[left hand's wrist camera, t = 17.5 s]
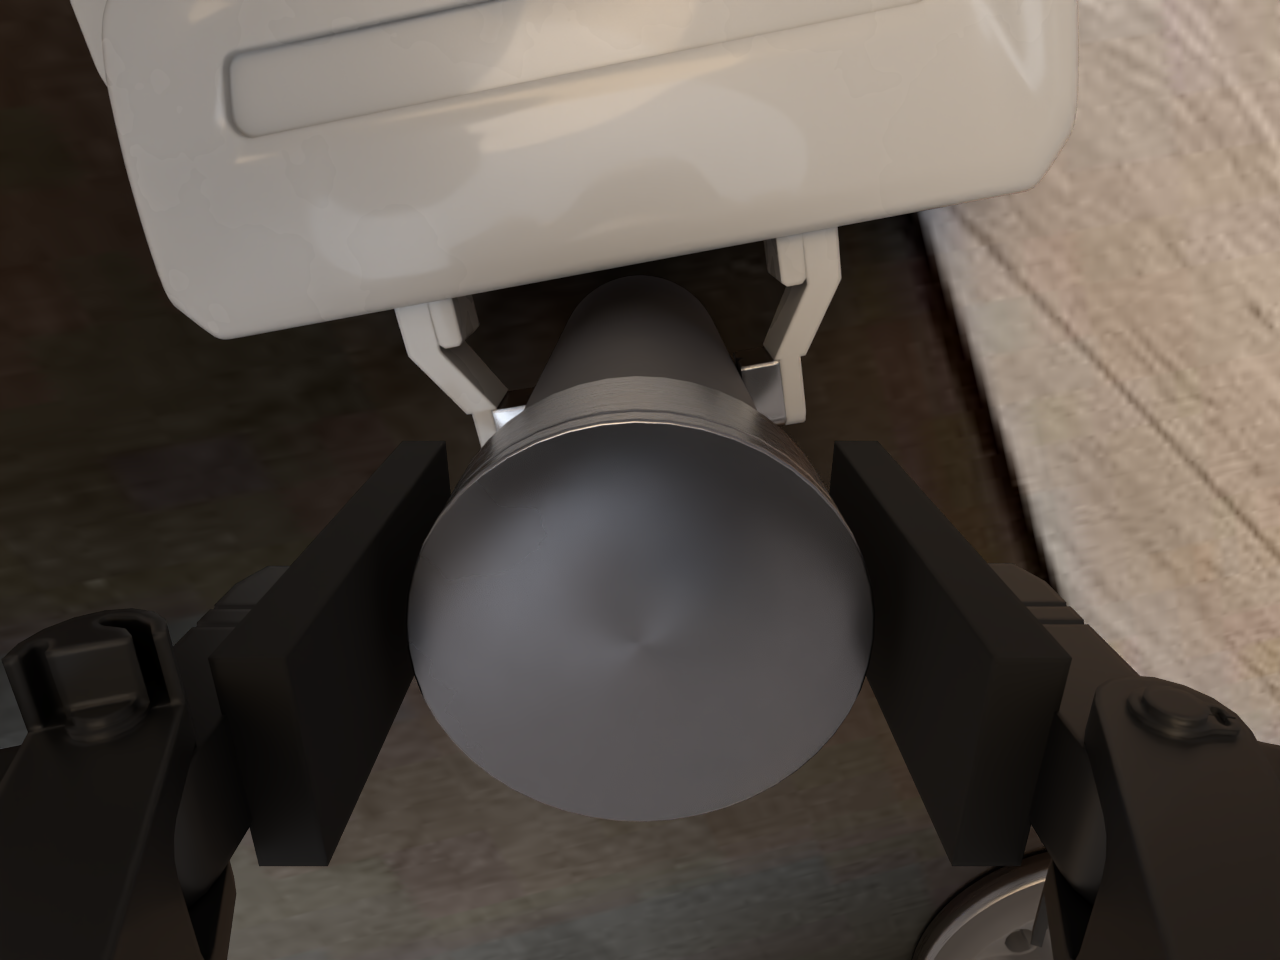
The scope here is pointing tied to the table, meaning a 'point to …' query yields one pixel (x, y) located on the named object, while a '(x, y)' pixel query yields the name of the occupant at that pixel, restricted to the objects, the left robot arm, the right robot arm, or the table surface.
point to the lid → (640, 603)
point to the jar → (640, 340)
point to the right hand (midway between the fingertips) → (648, 442)
